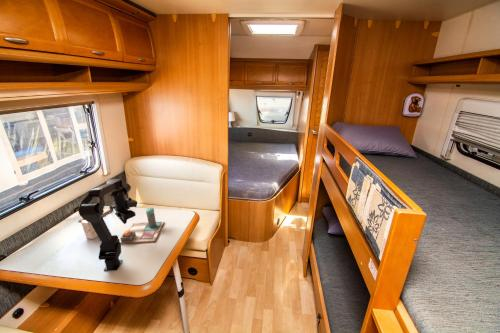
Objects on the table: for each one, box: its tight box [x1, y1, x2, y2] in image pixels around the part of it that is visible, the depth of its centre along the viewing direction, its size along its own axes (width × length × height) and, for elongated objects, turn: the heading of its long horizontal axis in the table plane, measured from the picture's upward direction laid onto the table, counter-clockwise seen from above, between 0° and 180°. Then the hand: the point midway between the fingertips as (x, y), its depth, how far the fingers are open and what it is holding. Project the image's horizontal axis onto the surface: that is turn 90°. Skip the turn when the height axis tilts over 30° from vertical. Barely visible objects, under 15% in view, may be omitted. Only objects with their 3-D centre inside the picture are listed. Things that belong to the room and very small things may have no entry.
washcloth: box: [77, 207, 113, 223], centre depth 160 cm, size 12×18×3 cm, turn 162°
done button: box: [123, 229, 131, 237], centre depth 134 cm, size 3×3×3 cm
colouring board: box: [119, 221, 165, 245], centre depth 141 cm, size 20×20×4 cm
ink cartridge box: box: [80, 220, 98, 240], centre depth 138 cm, size 9×5×15 cm, turn 168°
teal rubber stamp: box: [145, 207, 157, 228], centre depth 144 cm, size 5×5×12 cm
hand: (125, 223), depth 131 cm, fingers closed
